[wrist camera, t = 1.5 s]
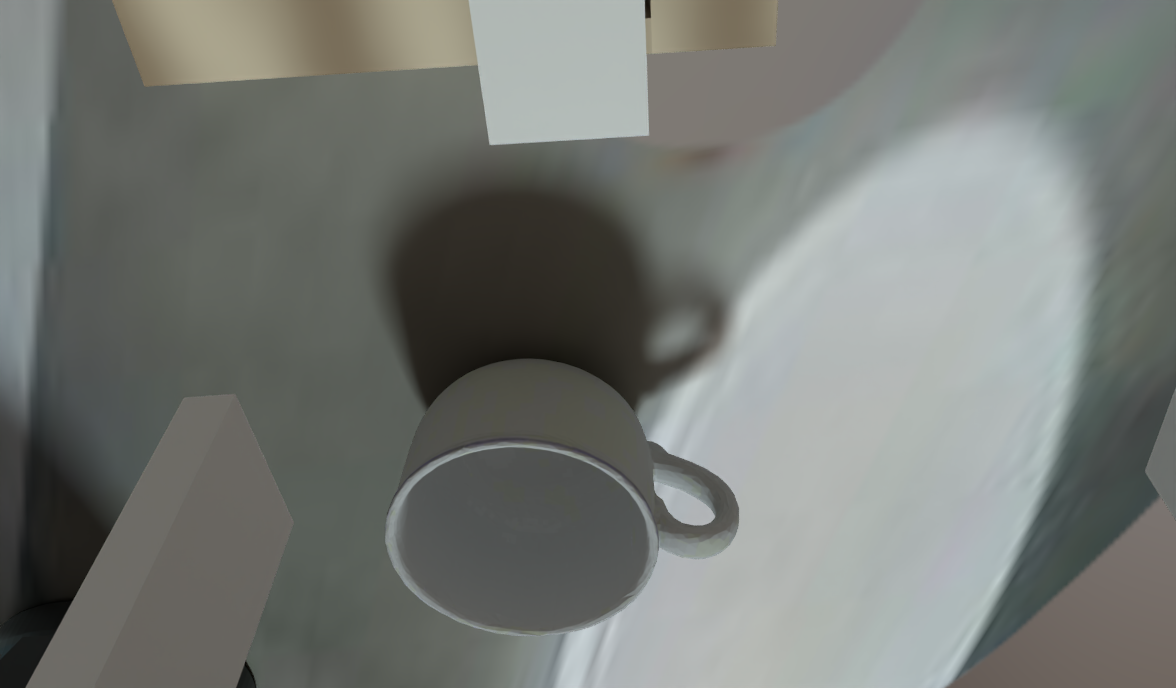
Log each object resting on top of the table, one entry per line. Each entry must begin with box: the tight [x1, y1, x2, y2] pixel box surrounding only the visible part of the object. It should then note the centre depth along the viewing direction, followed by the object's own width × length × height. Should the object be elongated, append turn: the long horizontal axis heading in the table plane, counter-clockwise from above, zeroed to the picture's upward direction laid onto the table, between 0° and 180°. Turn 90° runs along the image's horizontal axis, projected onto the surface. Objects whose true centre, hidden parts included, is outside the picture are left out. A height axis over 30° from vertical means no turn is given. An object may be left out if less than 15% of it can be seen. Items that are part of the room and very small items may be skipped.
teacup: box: [385, 359, 739, 636], centre depth 39 cm, size 14×11×8 cm
